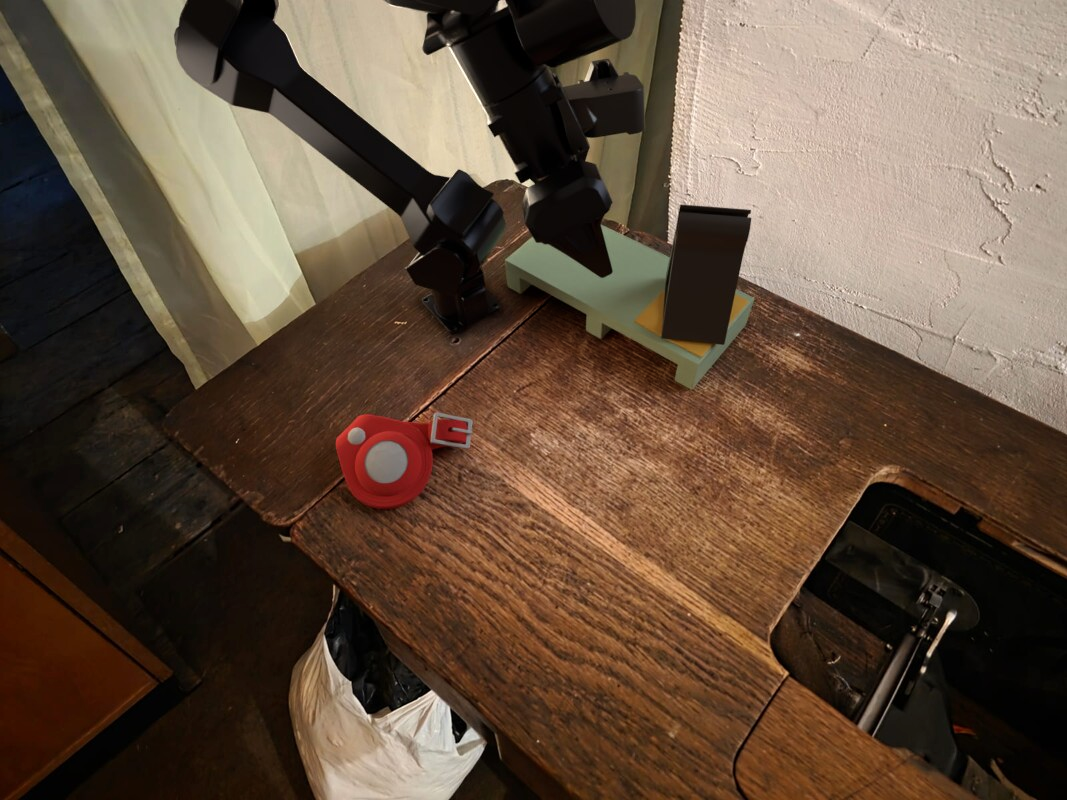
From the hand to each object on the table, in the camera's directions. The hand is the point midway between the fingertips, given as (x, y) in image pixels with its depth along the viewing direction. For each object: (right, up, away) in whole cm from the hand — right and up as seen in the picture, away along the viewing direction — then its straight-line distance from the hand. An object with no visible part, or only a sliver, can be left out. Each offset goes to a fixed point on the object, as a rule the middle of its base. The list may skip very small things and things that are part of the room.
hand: (599, 250), depth 59 cm
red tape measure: (-17, -19, +3) cm, 26 cm away
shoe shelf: (+4, -3, +14) cm, 15 cm away
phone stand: (+10, -4, +8) cm, 14 cm away
